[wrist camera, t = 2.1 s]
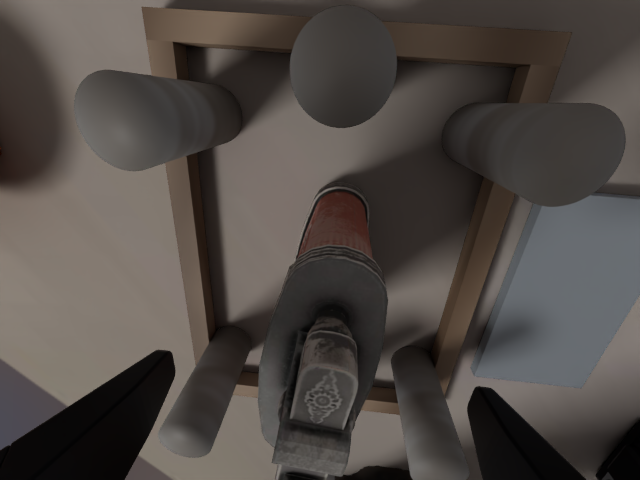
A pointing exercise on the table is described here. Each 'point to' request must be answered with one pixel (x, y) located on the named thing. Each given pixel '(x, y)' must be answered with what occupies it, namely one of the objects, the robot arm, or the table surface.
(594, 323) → the mat
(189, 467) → the table surface
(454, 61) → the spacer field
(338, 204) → the lighter
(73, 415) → the robot arm
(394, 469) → the owl
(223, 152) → the table surface
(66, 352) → the table surface
